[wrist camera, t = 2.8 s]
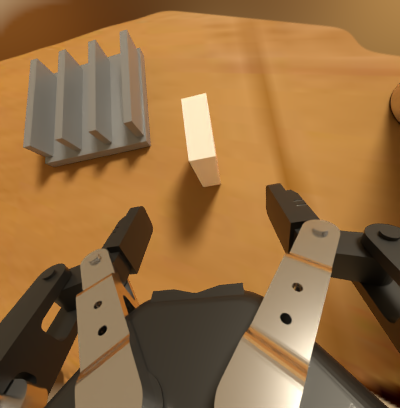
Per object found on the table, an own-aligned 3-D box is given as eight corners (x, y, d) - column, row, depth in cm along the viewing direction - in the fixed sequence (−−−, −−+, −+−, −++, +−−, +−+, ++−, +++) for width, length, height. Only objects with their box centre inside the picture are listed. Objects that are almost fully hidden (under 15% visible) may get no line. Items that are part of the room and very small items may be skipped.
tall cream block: (221, 184, 25) (215, 155, 17) (203, 187, 26) (188, 161, 17) (214, 140, 27) (205, 93, 18) (197, 143, 27) (181, 99, 18)
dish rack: (150, 146, 28) (134, 127, 24) (53, 167, 31) (20, 153, 26) (143, 56, 32) (128, 24, 27) (57, 81, 35) (29, 56, 30)
